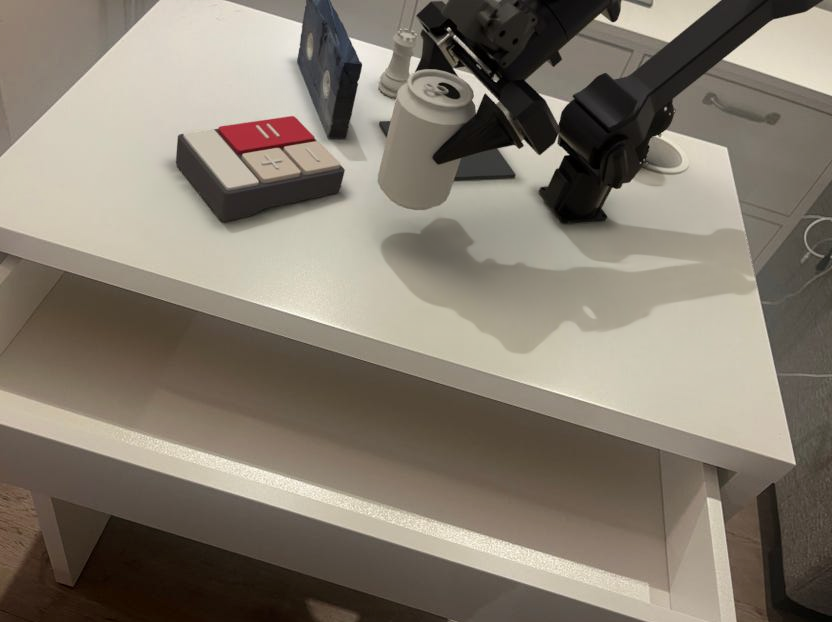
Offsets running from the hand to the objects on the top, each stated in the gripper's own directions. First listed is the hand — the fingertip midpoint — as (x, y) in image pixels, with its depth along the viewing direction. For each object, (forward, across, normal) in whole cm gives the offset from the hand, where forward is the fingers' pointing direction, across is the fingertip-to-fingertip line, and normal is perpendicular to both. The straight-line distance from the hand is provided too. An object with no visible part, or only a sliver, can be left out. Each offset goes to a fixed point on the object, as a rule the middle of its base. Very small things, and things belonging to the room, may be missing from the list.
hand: (414, 137), depth 73 cm
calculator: (+16, -13, +2) cm, 20 cm away
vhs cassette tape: (+6, -27, +12) cm, 30 cm away
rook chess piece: (-2, -28, +20) cm, 34 cm away
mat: (-2, -13, +20) cm, 24 cm away
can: (+4, 0, +6) cm, 7 cm away
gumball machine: (-20, -7, +38) cm, 44 cm away
